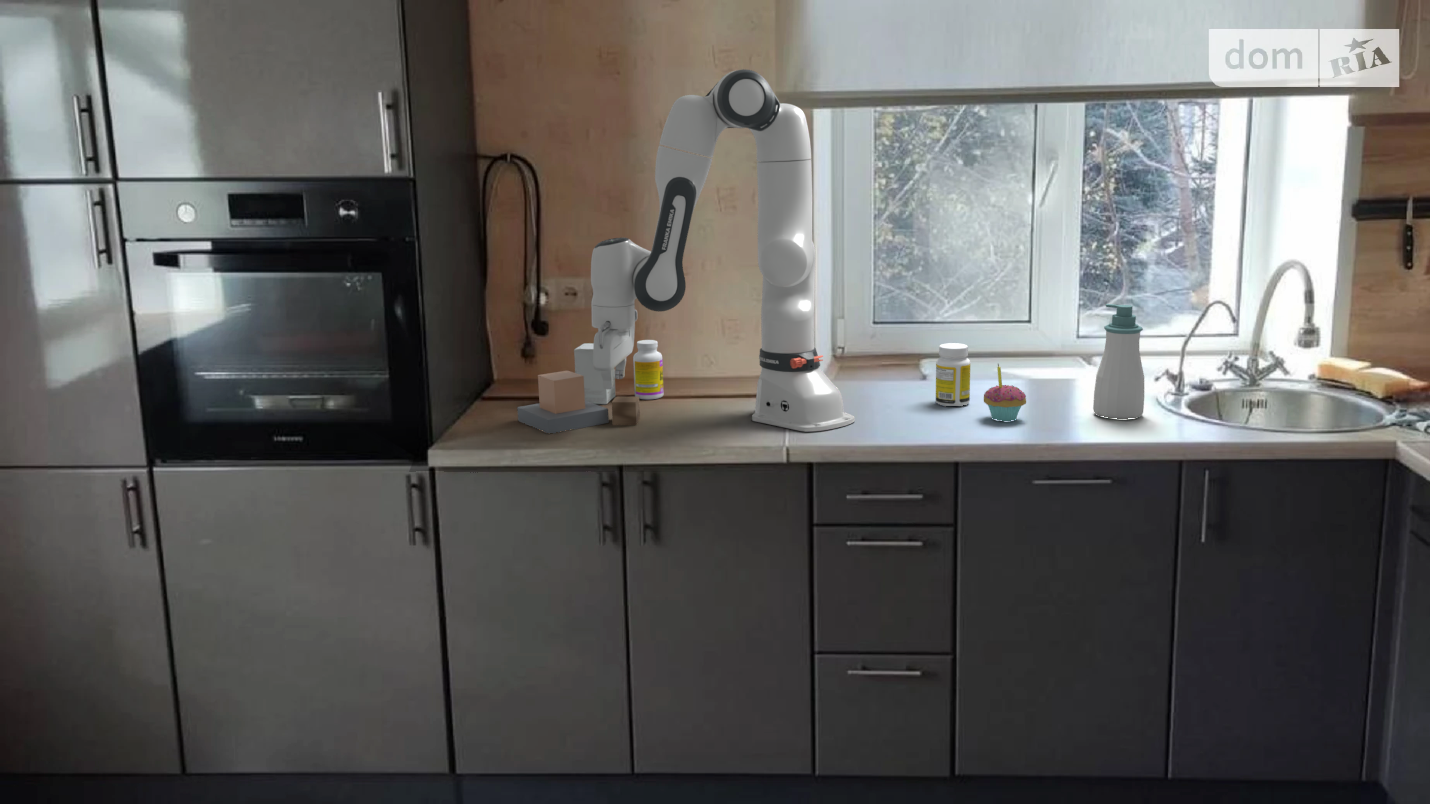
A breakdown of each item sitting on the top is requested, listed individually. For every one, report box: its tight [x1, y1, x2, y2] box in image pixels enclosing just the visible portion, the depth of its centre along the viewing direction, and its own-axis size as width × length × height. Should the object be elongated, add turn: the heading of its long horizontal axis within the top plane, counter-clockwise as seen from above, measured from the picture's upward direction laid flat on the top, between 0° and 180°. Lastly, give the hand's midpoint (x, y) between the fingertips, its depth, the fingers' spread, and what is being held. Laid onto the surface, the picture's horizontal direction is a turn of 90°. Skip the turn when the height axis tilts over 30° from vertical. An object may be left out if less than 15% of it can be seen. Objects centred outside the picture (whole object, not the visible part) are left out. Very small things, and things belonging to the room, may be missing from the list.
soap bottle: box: [1092, 303, 1145, 419], centre depth 233 cm, size 10×10×23 cm
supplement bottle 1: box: [632, 339, 665, 401], centre depth 260 cm, size 7×7×13 cm
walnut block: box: [611, 396, 641, 426], centre depth 239 cm, size 5×5×5 cm
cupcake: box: [983, 363, 1027, 421], centre depth 234 cm, size 9×8×12 cm
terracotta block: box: [537, 370, 585, 414], centre depth 239 cm, size 7×7×7 cm
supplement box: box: [573, 342, 616, 405], centre depth 257 cm, size 7×7×13 cm
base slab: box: [517, 401, 610, 434], centre depth 241 cm, size 14×14×3 cm
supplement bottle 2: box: [935, 342, 971, 407], centre depth 247 cm, size 7×7×13 cm
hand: (614, 383), depth 238 cm, fingers open, 8 cm apart
